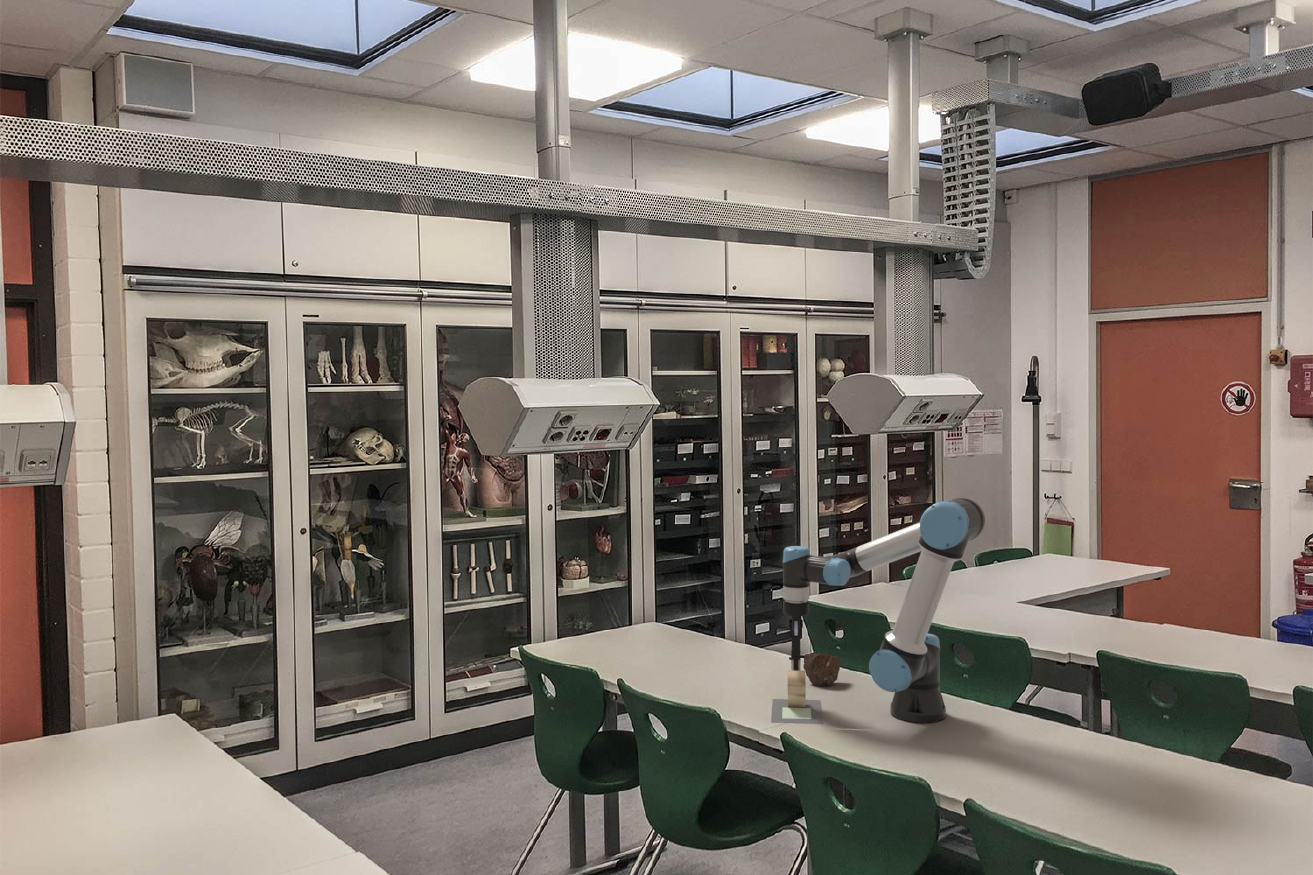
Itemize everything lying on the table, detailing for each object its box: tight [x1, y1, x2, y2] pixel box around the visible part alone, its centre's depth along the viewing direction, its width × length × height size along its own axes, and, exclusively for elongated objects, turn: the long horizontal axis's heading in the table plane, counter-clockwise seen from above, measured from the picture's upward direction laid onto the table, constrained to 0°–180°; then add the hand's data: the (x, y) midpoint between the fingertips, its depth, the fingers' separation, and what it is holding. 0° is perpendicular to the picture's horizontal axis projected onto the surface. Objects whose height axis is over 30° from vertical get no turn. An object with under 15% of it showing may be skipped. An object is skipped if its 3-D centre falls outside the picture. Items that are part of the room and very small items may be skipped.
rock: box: [802, 653, 842, 687], centre depth 320 cm, size 12×10×10 cm
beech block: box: [787, 669, 807, 707], centre depth 296 cm, size 5×5×10 cm
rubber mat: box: [770, 698, 824, 725], centre depth 294 cm, size 22×14×1 cm, turn 173°
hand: (795, 681), depth 299 cm, fingers closed
